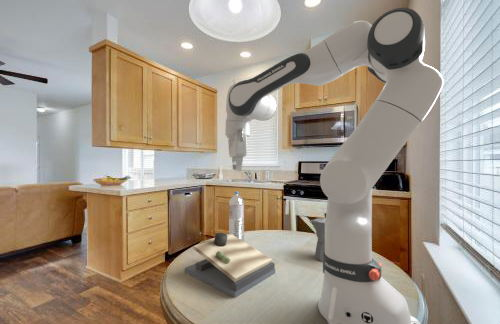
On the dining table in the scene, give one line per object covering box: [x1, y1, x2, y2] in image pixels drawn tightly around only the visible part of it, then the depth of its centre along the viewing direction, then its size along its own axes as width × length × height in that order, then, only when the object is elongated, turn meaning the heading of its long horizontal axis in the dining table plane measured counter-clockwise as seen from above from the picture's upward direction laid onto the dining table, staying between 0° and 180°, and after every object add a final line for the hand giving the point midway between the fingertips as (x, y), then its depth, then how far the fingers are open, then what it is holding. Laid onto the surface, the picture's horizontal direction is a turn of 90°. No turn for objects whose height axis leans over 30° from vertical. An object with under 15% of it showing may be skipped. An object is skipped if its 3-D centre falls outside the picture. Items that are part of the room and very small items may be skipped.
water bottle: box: [228, 191, 245, 242], centre depth 107 cm, size 7×7×25 cm
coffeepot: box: [309, 212, 326, 263], centre depth 94 cm, size 15×9×18 cm, turn 86°
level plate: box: [193, 232, 273, 282], centre depth 80 cm, size 20×18×4 cm
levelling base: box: [184, 258, 276, 298], centre depth 81 cm, size 24×20×4 cm
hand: (236, 170), depth 83 cm, fingers open, 8 cm apart
